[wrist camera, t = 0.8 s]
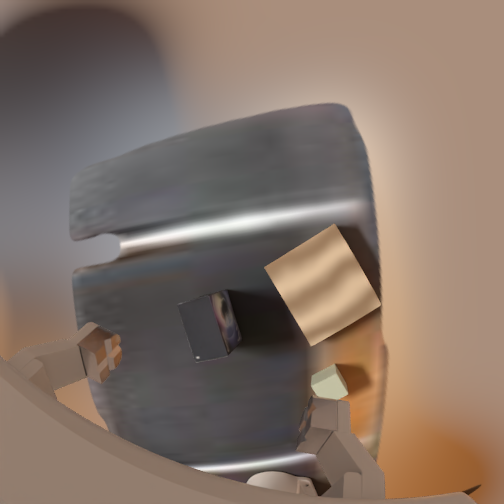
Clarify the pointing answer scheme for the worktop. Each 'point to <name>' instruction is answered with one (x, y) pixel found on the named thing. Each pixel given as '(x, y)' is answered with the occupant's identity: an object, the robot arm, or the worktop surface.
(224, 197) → the worktop surface
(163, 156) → the worktop surface
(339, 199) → the worktop surface
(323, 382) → the sage cube
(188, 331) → the small box
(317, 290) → the birch platform
